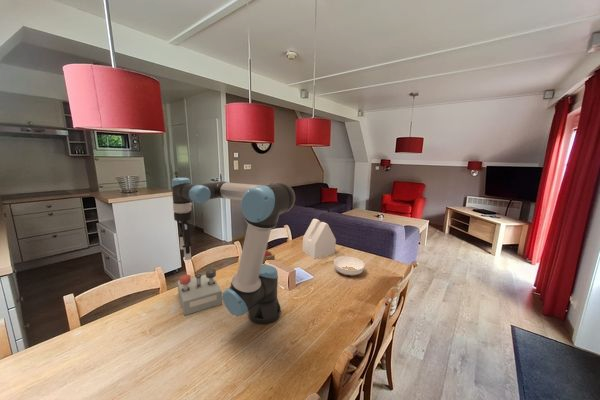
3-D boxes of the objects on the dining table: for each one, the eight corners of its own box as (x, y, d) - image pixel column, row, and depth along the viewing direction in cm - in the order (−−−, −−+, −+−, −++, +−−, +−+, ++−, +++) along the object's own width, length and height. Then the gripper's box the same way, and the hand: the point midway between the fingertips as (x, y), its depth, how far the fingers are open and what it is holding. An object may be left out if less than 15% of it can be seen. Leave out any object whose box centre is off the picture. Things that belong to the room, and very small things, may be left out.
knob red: (192, 294, 118) (191, 278, 116) (181, 297, 115) (180, 280, 113) (190, 290, 122) (189, 273, 120) (180, 292, 119) (178, 276, 117)
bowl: (367, 270, 159) (368, 261, 158) (357, 282, 143) (358, 273, 142) (340, 262, 169) (340, 253, 168) (328, 273, 153) (328, 264, 152)
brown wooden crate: (274, 262, 166) (274, 255, 165) (251, 267, 156) (251, 260, 155) (268, 256, 174) (268, 250, 173) (245, 261, 164) (245, 254, 163)
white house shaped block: (314, 259, 172) (316, 225, 167) (302, 251, 185) (303, 220, 180) (334, 254, 183) (337, 222, 178) (322, 247, 195) (324, 217, 190)
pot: (202, 286, 121) (201, 275, 120) (196, 287, 119) (196, 277, 118) (201, 284, 123) (200, 273, 122) (195, 285, 122) (195, 274, 120)
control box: (222, 304, 119) (221, 291, 118) (184, 315, 110) (183, 301, 108) (211, 284, 135) (211, 273, 134) (178, 293, 126) (177, 281, 125)
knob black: (217, 288, 124) (216, 272, 123) (207, 290, 122) (207, 274, 120) (215, 283, 128) (214, 268, 126) (205, 286, 126) (204, 270, 124)
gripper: (196, 216, 104) (199, 262, 108) (187, 205, 124) (189, 244, 128) (177, 218, 100) (180, 266, 104) (170, 206, 120) (173, 246, 124)
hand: (185, 254), depth 116 cm, fingers open, 13 cm apart
